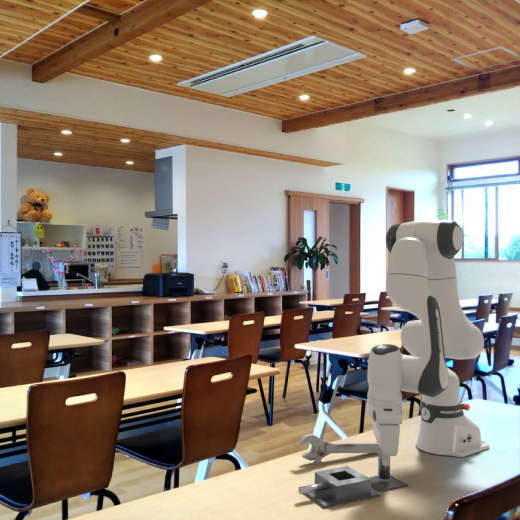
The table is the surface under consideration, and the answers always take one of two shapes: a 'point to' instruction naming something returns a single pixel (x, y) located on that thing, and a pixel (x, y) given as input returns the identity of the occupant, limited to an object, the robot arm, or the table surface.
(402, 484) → the mat
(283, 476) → the table surface
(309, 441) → the wrench
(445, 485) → the table surface
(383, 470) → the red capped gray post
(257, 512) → the table surface
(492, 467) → the table surface
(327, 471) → the grey square socket base
